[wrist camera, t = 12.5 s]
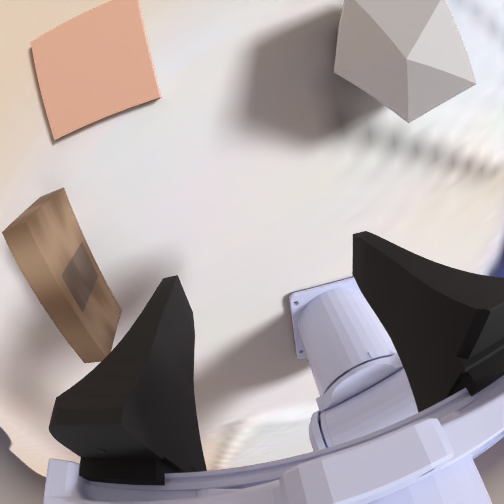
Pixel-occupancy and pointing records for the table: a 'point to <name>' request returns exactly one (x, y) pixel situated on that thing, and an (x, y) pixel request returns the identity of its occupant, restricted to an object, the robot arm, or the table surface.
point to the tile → (95, 66)
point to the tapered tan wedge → (65, 275)
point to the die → (403, 53)
